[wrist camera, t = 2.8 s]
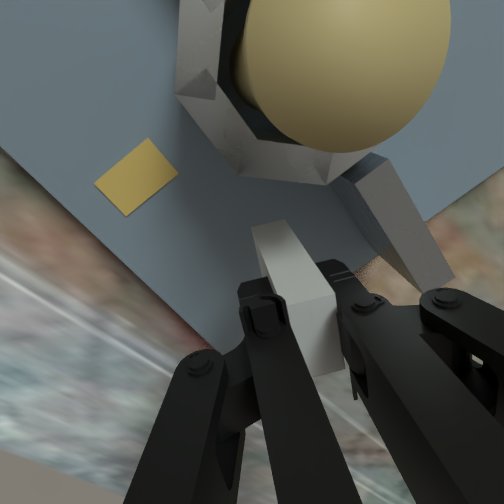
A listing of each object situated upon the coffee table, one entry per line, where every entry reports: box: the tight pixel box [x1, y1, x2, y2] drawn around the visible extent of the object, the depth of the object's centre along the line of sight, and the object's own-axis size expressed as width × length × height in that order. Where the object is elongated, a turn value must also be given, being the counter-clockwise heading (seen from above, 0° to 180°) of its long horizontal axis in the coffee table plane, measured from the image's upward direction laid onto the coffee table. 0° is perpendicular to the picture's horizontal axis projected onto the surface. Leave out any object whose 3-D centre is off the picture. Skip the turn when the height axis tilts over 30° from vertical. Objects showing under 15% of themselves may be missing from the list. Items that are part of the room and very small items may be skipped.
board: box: [0, 0, 504, 355], centre depth 12 cm, size 22×22×10 cm
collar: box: [174, 0, 455, 294], centre depth 14 cm, size 17×7×5 cm, turn 37°
